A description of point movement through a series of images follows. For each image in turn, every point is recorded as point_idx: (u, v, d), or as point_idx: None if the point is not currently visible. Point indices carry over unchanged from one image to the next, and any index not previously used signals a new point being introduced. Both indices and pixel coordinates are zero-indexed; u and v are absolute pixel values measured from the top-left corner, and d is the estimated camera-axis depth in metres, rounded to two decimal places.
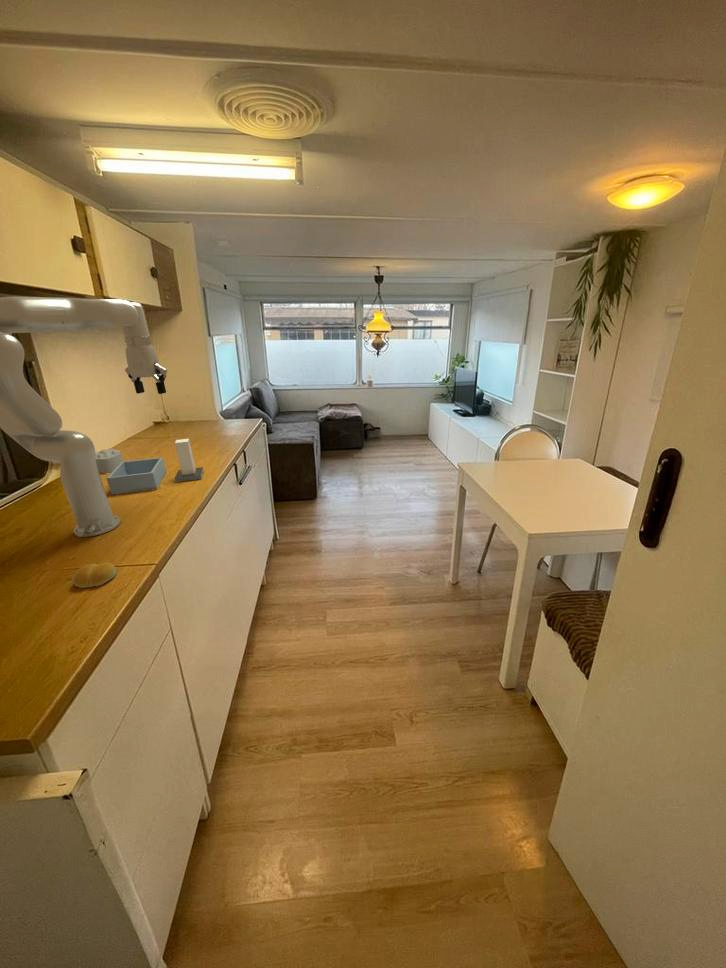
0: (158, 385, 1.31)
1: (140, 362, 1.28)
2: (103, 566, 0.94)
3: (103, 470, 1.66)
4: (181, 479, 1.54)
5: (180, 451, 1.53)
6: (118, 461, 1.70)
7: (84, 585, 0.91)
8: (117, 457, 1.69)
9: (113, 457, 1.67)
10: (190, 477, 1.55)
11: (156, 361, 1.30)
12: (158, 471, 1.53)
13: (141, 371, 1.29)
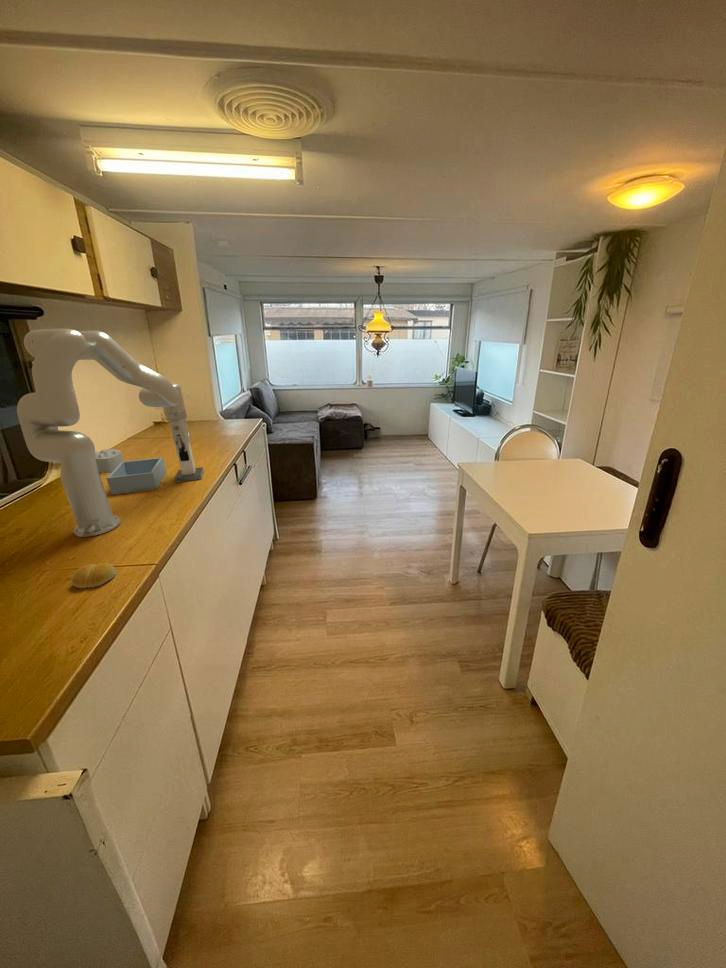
0: None
1: (187, 429, 1.54)
2: (102, 566, 0.94)
3: (104, 470, 1.66)
4: (181, 479, 1.54)
5: None
6: (119, 461, 1.70)
7: (83, 585, 0.91)
8: (118, 457, 1.69)
9: (114, 457, 1.67)
10: (190, 477, 1.55)
11: None
12: (158, 471, 1.53)
13: (189, 436, 1.55)
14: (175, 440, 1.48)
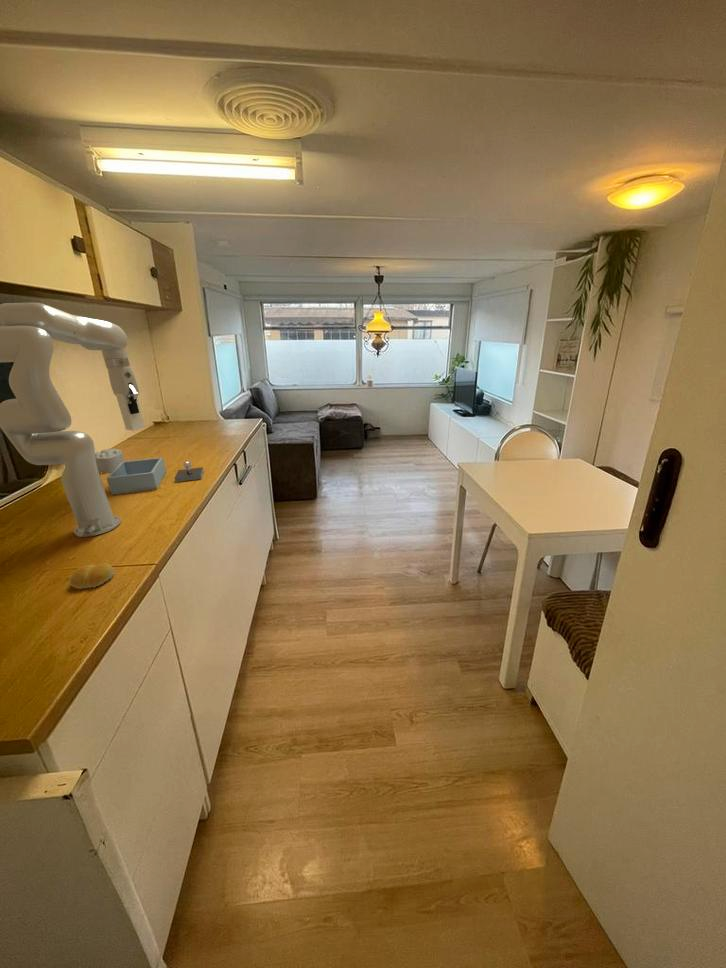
0: None
1: None
2: (101, 567, 0.94)
3: (105, 470, 1.66)
4: (181, 479, 1.54)
5: (128, 403, 1.41)
6: (120, 460, 1.70)
7: (81, 586, 0.91)
8: (119, 456, 1.70)
9: (115, 456, 1.67)
10: (190, 477, 1.55)
11: None
12: (158, 471, 1.53)
13: None
14: (127, 389, 1.37)
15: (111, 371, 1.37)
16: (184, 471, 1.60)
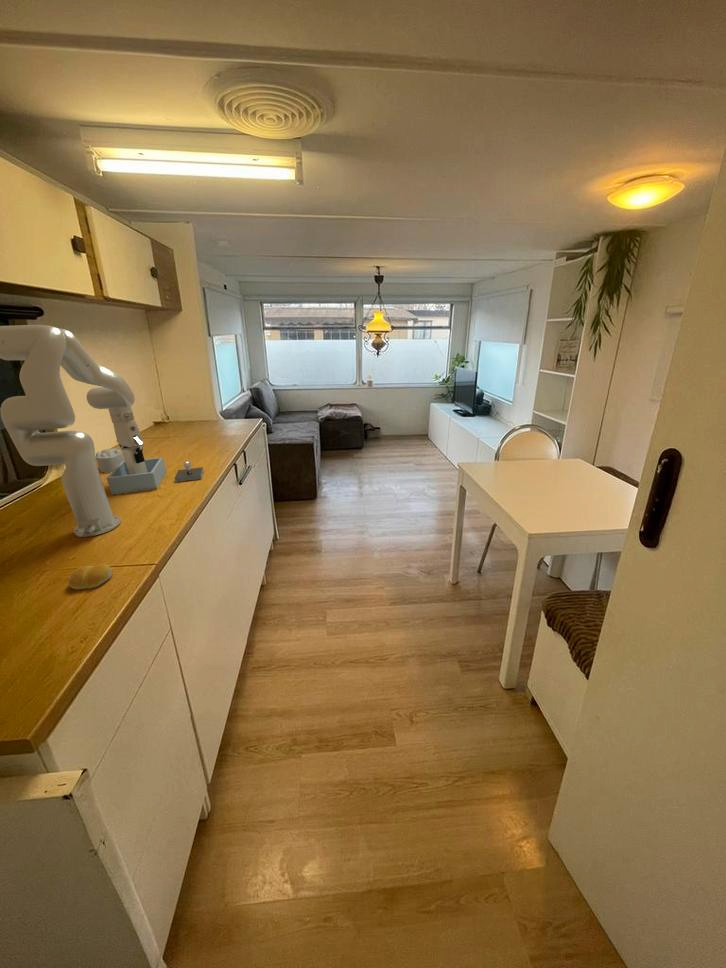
0: None
1: None
2: (99, 567, 0.94)
3: (107, 469, 1.66)
4: (181, 479, 1.54)
5: (134, 458, 1.49)
6: (121, 460, 1.71)
7: (80, 587, 0.91)
8: (120, 456, 1.70)
9: (117, 456, 1.68)
10: (190, 477, 1.55)
11: None
12: (158, 471, 1.53)
13: None
14: (132, 441, 1.44)
15: (116, 425, 1.44)
16: (184, 471, 1.60)
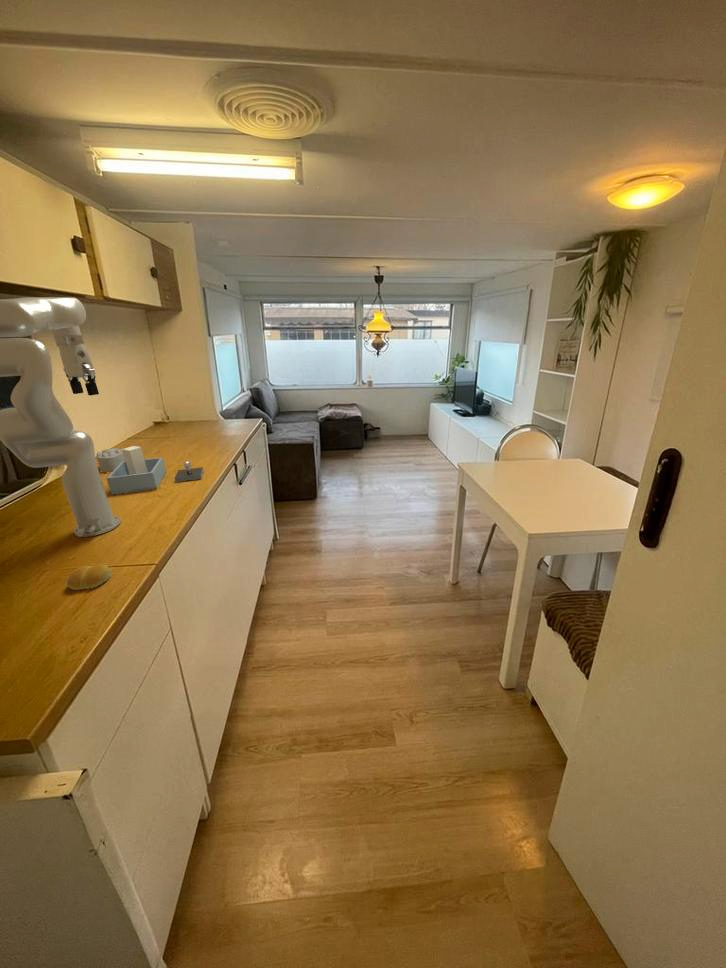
0: None
1: None
2: (98, 568, 0.93)
3: (108, 469, 1.67)
4: (181, 479, 1.54)
5: (135, 458, 1.49)
6: (122, 460, 1.71)
7: (78, 587, 0.90)
8: (121, 456, 1.70)
9: (117, 456, 1.68)
10: (190, 477, 1.55)
11: None
12: (158, 471, 1.53)
13: None
14: (81, 370, 1.23)
15: (62, 350, 1.22)
16: (184, 471, 1.60)
